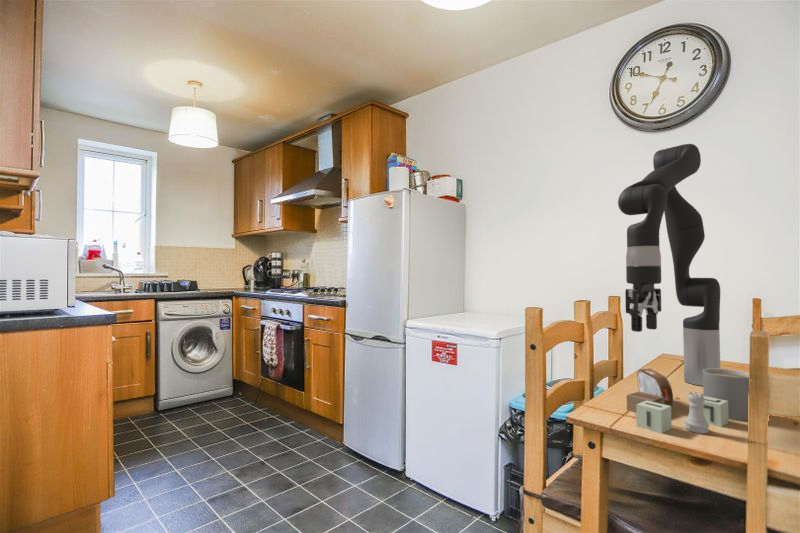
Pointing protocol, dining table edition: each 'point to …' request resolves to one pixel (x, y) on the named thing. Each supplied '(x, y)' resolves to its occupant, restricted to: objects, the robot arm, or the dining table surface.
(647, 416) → the numbered block one
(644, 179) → the robot arm
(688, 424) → the rook chess piece
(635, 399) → the walnut block
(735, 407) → the coffee mug
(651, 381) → the tin
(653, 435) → the dining table surface
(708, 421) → the numbered block seven
